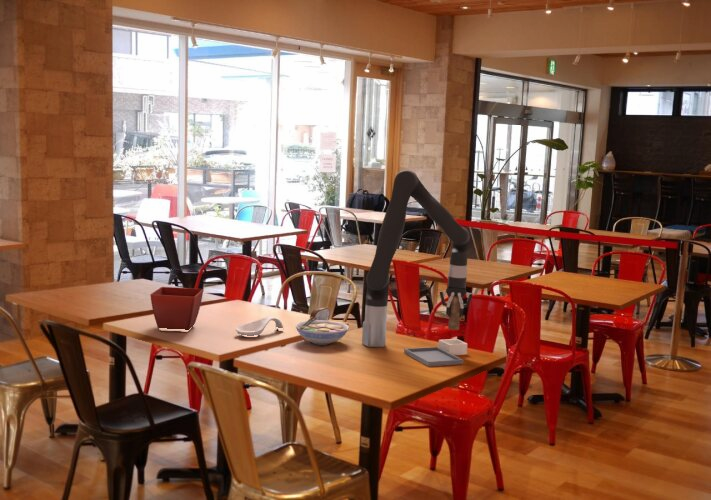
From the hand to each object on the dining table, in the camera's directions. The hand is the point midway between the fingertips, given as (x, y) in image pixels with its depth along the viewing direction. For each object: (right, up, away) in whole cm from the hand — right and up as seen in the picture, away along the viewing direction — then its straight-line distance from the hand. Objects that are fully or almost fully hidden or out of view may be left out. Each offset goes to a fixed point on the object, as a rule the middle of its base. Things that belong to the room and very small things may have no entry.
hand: (454, 316), depth 332 cm
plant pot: (-119, -8, +21) cm, 121 cm away
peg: (0, -5, +1) cm, 5 cm away
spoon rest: (-83, -10, +18) cm, 85 cm away
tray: (-10, -16, -10) cm, 21 cm away
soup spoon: (-57, -8, +41) cm, 71 cm away
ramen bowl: (-55, -12, +8) cm, 57 cm away
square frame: (-1, -15, +2) cm, 15 cm away
